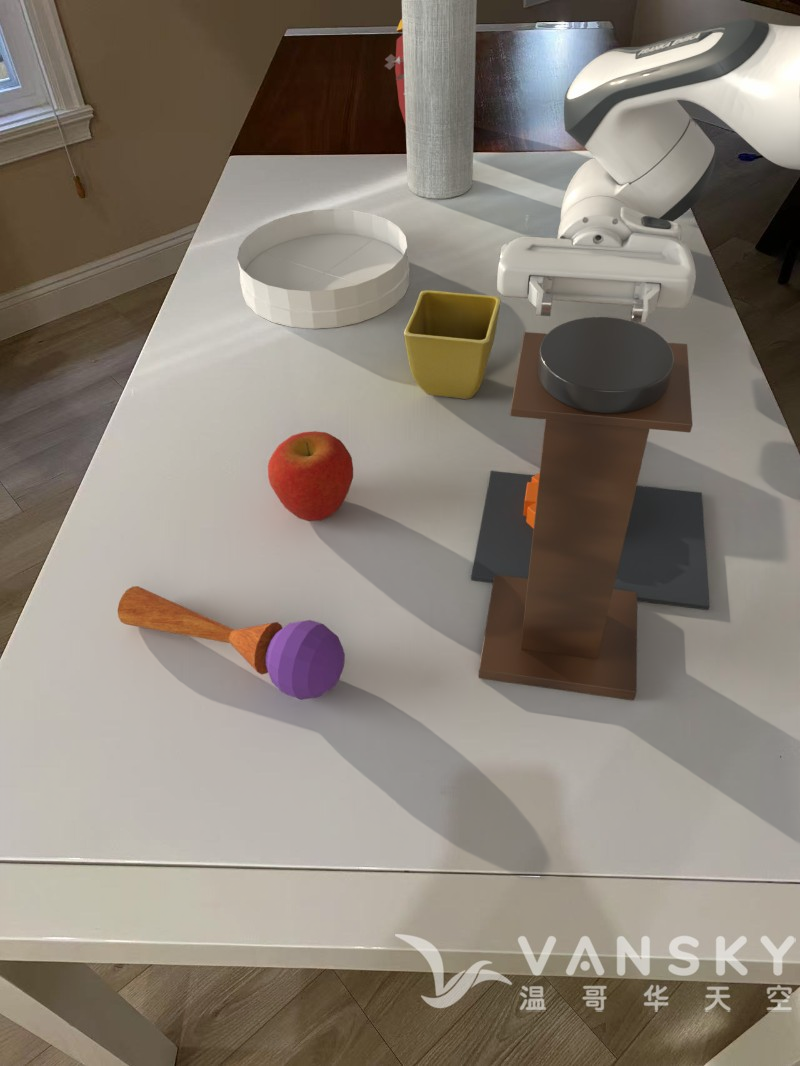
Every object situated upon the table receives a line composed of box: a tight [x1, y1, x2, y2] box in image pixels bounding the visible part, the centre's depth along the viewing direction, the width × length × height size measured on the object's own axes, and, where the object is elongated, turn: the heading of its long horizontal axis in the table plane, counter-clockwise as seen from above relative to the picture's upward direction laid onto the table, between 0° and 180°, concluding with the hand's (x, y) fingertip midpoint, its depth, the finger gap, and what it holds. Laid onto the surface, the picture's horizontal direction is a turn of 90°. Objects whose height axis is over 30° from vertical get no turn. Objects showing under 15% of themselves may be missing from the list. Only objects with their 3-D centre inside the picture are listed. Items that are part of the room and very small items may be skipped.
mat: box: [470, 470, 711, 611], centre depth 75 cm, size 20×14×1 cm
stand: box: [478, 316, 693, 701], centre depth 58 cm, size 12×10×28 cm
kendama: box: [117, 585, 346, 700], centre depth 66 cm, size 6×6×20 cm
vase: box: [401, 0, 478, 200], centre depth 118 cm, size 10×10×27 cm
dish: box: [236, 208, 411, 330], centre depth 107 cm, size 22×22×5 cm
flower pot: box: [403, 290, 502, 400], centre depth 89 cm, size 9×9×9 cm
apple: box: [267, 430, 354, 522], centre depth 77 cm, size 8×8×8 cm
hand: (591, 313), depth 83 cm, fingers open, 8 cm apart
